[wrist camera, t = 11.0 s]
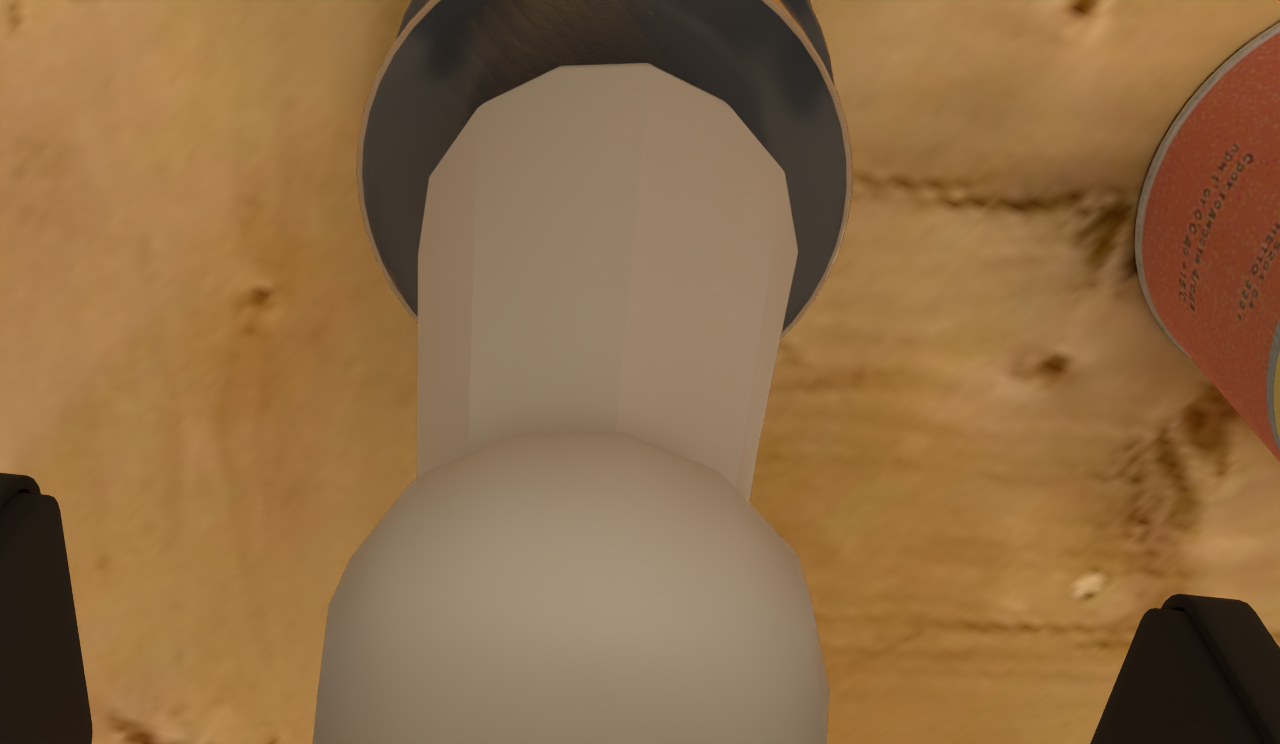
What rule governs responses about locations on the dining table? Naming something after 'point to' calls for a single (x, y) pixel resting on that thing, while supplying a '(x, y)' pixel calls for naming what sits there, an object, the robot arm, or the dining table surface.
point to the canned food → (1222, 233)
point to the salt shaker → (587, 442)
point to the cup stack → (593, 35)
